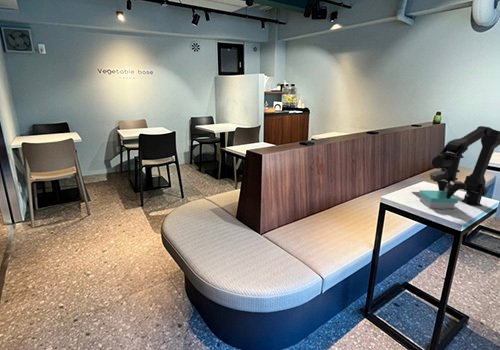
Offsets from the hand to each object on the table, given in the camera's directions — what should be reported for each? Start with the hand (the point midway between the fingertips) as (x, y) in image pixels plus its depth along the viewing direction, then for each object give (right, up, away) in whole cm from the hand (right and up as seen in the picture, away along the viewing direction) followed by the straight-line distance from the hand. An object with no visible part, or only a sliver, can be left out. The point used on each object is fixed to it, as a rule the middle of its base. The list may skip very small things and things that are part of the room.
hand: (444, 196), depth 145 cm
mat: (+4, -1, +18) cm, 19 cm away
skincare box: (+16, 0, +22) cm, 27 cm away
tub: (0, -5, +6) cm, 8 cm away
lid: (0, -1, +5) cm, 5 cm away
